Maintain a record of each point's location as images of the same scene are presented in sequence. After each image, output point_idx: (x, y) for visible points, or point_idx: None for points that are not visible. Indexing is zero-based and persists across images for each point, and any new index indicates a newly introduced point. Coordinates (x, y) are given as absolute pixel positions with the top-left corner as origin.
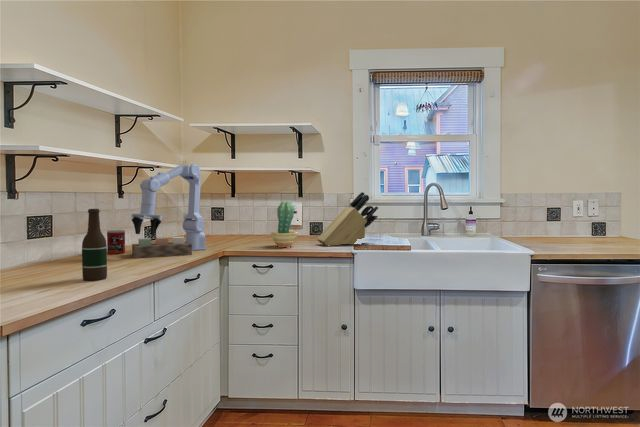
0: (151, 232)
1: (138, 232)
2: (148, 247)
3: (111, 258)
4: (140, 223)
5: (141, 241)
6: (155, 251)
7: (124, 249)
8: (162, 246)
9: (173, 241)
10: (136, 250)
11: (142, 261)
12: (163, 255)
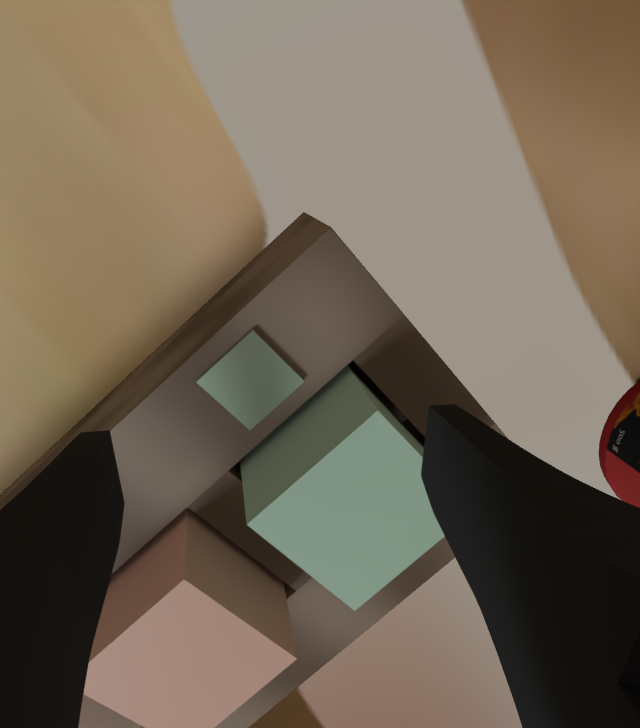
0: (66, 453)
1: (434, 461)
2: (189, 353)
3: (548, 141)
4: (521, 665)
5: (347, 414)
6: (130, 390)
7: (619, 480)
8: None
9: None
10: (302, 240)
11: (41, 20)
12: (76, 428)
